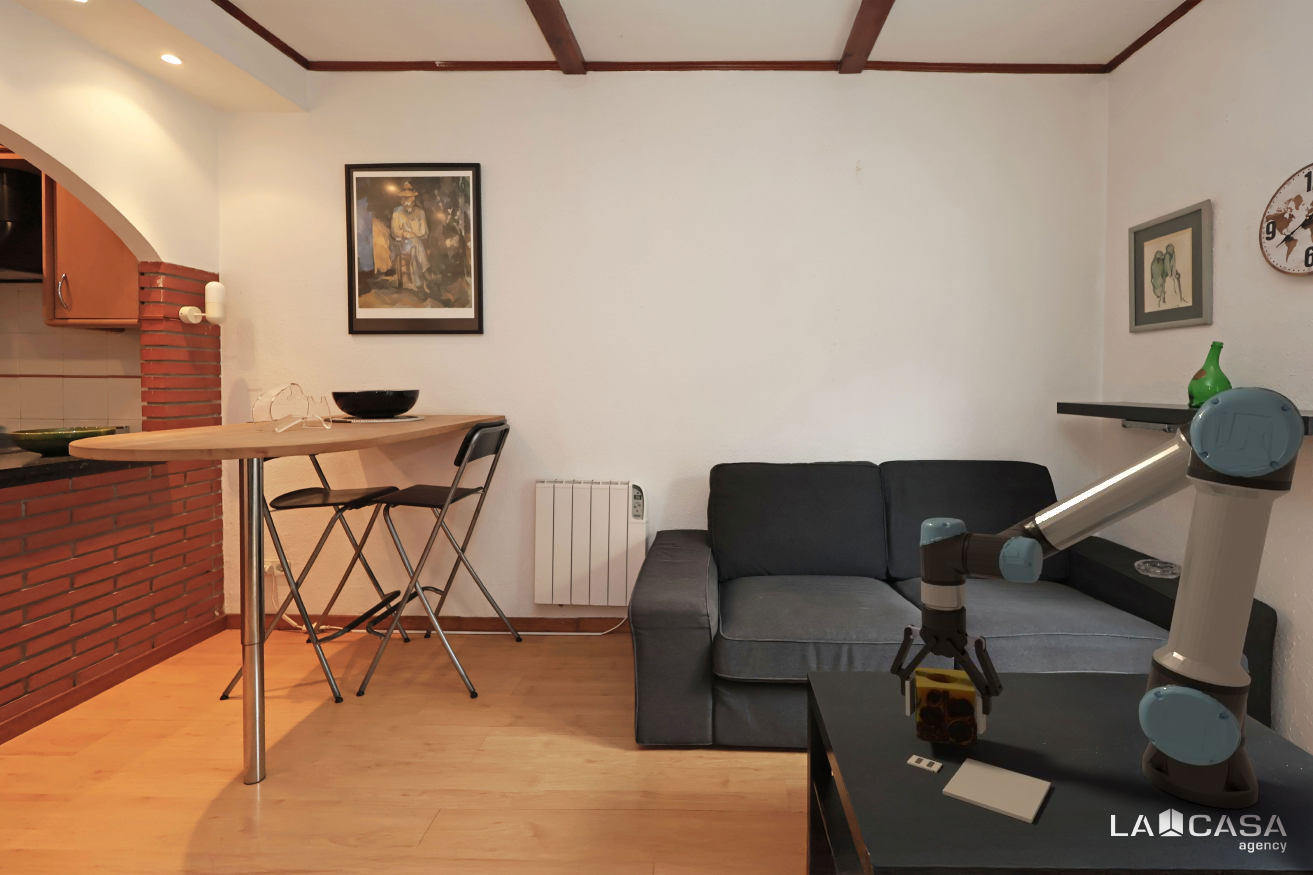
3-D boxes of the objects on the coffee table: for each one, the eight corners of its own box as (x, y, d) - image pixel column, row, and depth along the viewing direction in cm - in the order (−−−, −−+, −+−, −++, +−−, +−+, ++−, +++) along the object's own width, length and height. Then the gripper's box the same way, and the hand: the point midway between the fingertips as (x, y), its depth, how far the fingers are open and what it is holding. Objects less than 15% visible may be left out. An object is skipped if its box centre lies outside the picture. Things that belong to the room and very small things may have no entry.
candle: (978, 748, 127) (977, 691, 126) (916, 741, 130) (915, 686, 129) (972, 722, 136) (971, 670, 136) (915, 717, 139) (914, 665, 139)
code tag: (942, 765, 126) (942, 763, 126) (936, 772, 124) (936, 770, 124) (913, 756, 129) (913, 754, 129) (907, 763, 127) (907, 761, 127)
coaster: (1050, 785, 119) (1050, 782, 119) (1031, 823, 109) (1031, 819, 109) (967, 761, 127) (967, 757, 127) (942, 793, 117) (942, 790, 117)
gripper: (1021, 609, 127) (1022, 731, 128) (886, 590, 142) (888, 699, 143) (1010, 620, 121) (1011, 747, 122) (870, 599, 137) (872, 712, 138)
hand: (945, 721), depth 133 cm, fingers closed on candle, 12 cm apart
